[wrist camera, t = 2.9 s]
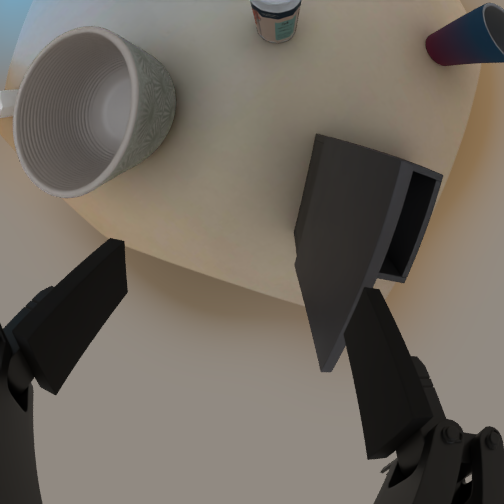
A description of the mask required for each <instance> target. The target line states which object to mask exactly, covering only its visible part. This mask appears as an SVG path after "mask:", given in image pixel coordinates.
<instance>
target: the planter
mask: <svg viewBox="0 0 504 504" xmlns="http://www.w3.org/2000/svg"><path fill="white" fill-rule="evenodd" d="M175 108H176V96H175V89H174V86H173V82H172V80H171V78H170V75H169V74H168V72H167V70H166V69H165V68H164V67H163V65H162V64H161V63H160V62H159V61H158V60H157V59H155V58H154V57H153V56H151V55H150V54H148V53H147V52H145V51H144V50H142V49H140V48H139V47H137V46H136V45H134V44H132V43H131V42H129V41H127V40H126V39H124V38H122V37H120V36H119V35H117V34H115V33H114V32H112V31H110V30H107V29H105V28H101V27H94V26H86V27H80V28H76V29H73V30H70V31H68V32H66V33H64V34H62V35H60V36H58V37H57V38H55V39H54V40H53V41H51V42H50V43H49V44H48V45H47V46H46V47H45V48H44V49H43V50H42V51H41V52H40V53H39V54H38V55H37V57H36V58H35V59H34V61H33V62H32V63H31V65H30V67H29V68H28V70H27V72H26V74H25V76H24V78H23V80H22V82H21V85H20V87H19V90H18V93H17V97H16V101H15V107H14V114H13V136H14V143H15V148H16V152H17V155H18V158H19V161H20V163H21V165H22V167H23V169H24V171H25V173H26V174H27V176H28V177H29V178H30V179H31V181H32V182H33V183H34V184H35V185H36V186H37V187H39V188H40V189H41V190H43V191H44V192H46V193H48V194H50V195H53V196H56V197H60V198H74V197H79V196H82V195H85V194H87V193H89V192H91V191H93V190H94V189H96V188H98V187H99V186H101V185H103V184H104V183H106V182H108V181H109V180H111V179H113V178H114V177H116V176H118V175H120V174H121V173H123V172H125V171H127V170H128V169H130V168H132V167H134V166H136V165H137V164H139V163H141V162H142V161H144V160H145V159H146V158H148V157H149V156H150V155H151V154H152V153H153V152H154V151H155V150H156V149H157V148H158V147H159V146H160V144H161V143H162V142H163V140H164V139H165V137H166V136H167V134H168V132H169V130H170V127H171V125H172V122H173V119H174V114H175Z"/></svg>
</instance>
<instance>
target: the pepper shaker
mask: <svg viewBox="0 0 504 504" xmlns="http://www.w3.org/2000/svg"><path fill="white" fill-rule="evenodd" d="M18 90H19V89H16V90H4V91H0V118H4V117H10V116H13V114H14V107H15V101H16V97H17V93H18Z"/></svg>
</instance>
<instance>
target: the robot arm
mask: <svg viewBox="0 0 504 504" xmlns="http://www.w3.org/2000/svg"><path fill="white" fill-rule="evenodd" d="M127 292H128V290H127V279H126V264H125V244H124V241H122V240H117V239H112V238H110V239H108V240H107V241H106V242H105V243H104V244H102V245H101V246H100V247H99V248H98V249H96V251H94V252H93V253H92V254H91V255H89V256H88V257H87V258H86V259H85V260H84V261H83V262H81V263H80V264H79V265H78V266H77V267H76V268H75V269H74V270H72V271H71V272H70V273H69V274H68V275H67V276H66V277H65V278H64V279H63V280H61V281H60V282H59V283H58V284H57V285H56V286H55V287H53V286H51V287H48V288H46V289H44V290H42V291H40V292H39V293H38V294H37V295H36V296H35V297H34V298H33V299H32V301H30V302H29V303H28V304H27V305H26V307H24V308H23V309H22V310H21V311H20V312H19V313H18V314H17V315H16V316H15V317H14V318H13V319H12V320H11V321H10V322H9V323H8V324H7V326H5V328H4V329H2V326H1V324H0V504H42V500H41V494H40V489H39V483H38V476H37V470H36V460H35V450H34V434H33V386H32V384H31V381H32V380H33V379H34V377H35V378H36V380H37V382H38V384H39V385H40V387H41V388H43V389H45V390H47V391H49V392H51V393H52V394H54V395H57V393H58V391H59V390H60V388H61V387H62V385H63V383H64V382H65V380H66V379H67V377H68V375H69V374H70V373H71V371H72V370H73V368H74V366H75V365H76V363H77V362H78V361H79V359H80V357H81V356H82V355H83V353H84V352H85V350H86V349H87V347H88V346H89V344H90V343H91V342H92V340H93V339H94V337H95V336H96V334H97V333H98V332H99V330H100V329H101V327H102V326H103V325H104V323H105V322H106V320H107V319H108V318H109V316H110V315H111V314H112V312H113V311H114V310H115V308H116V307H117V306H118V304H119V303H120V302H121V300H122V299H123V298H124V296H125V295H126V294H127ZM343 335H344V339H345V343H346V347H347V352H348V356H349V361H350V365H351V370H352V375H353V379H354V384H355V389H356V394H357V399H358V404H359V409H360V415H361V421H362V426H363V433H364V438H365V445H366V452H367V459H368V460H369V459H380V458H387V457H388V456H389V455H390V454H392V453H393V452H394V451H396V453H397V458H396V459H395V460H394V461H392V462H391V463H389V464H388V465H387V466H385V467H384V468H383V469H382V471H381V473H384V472H385V471H387V470H388V469H389V472H388V473H387V474H386V475H387V476H386V479H385V481H384V483H383V486H382V487H381V490H380V492H379V494H378V496H377V498H376V500H375V502H374V504H504V446H503V441H502V437H501V435H500V433H499V432H498V431H497V430H496V429H495V428H493V427H490V426H489V427H485V428H484V429H483V430H482V431H481V432H479V433H478V434H469V433H464V432H463V430H462V428H461V427H460V426H459V424H458V423H456V422H455V421H453V420H449V419H446V417H445V414H444V412H443V409H442V406H441V404H440V401H439V398H438V396H437V393H436V391H435V388H434V387H433V384H432V381H431V379H429V374H428V372H427V370H426V367H425V365H424V364H423V363H422V362H421V361H420V360H419V358H418V357H415V356H410V354H409V351H408V349H407V347H406V345H405V342H404V340H403V338H402V335H401V333H400V331H399V329H398V327H397V325H396V322H395V320H394V318H393V316H392V314H391V312H390V310H389V308H388V306H387V304H386V302H385V300H384V298H383V296H382V294H381V292H380V290H379V289H374V288H368V287H364V289H363V291H362V294H361V296H360V298H359V301H358V303H357V305H356V308H355V310H354V312H353V314H352V317H351V319H350V321H349V323H348V325H347V327H346V329H345V332H344V334H343ZM471 474H472V481H470V482H469V483H466V482H465V478H466V477H468V476H469V475H471Z"/></svg>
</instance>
